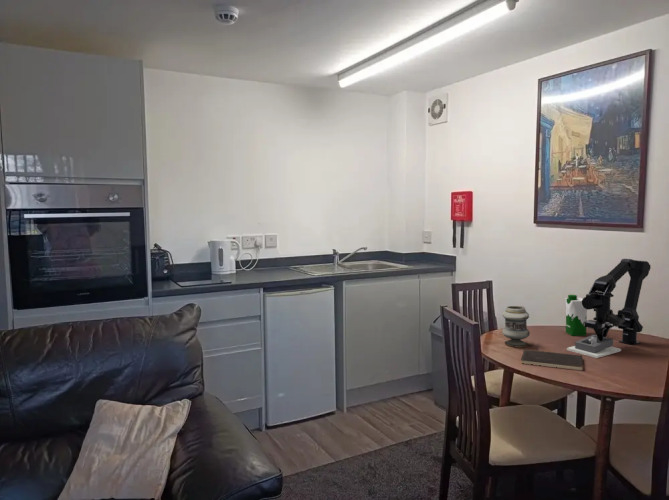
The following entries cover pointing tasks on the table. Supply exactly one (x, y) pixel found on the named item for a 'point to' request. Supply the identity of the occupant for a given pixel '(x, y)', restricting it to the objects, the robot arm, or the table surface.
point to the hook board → (599, 354)
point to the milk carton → (575, 316)
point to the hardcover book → (552, 359)
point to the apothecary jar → (515, 325)
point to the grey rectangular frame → (600, 345)
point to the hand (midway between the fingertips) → (602, 340)
